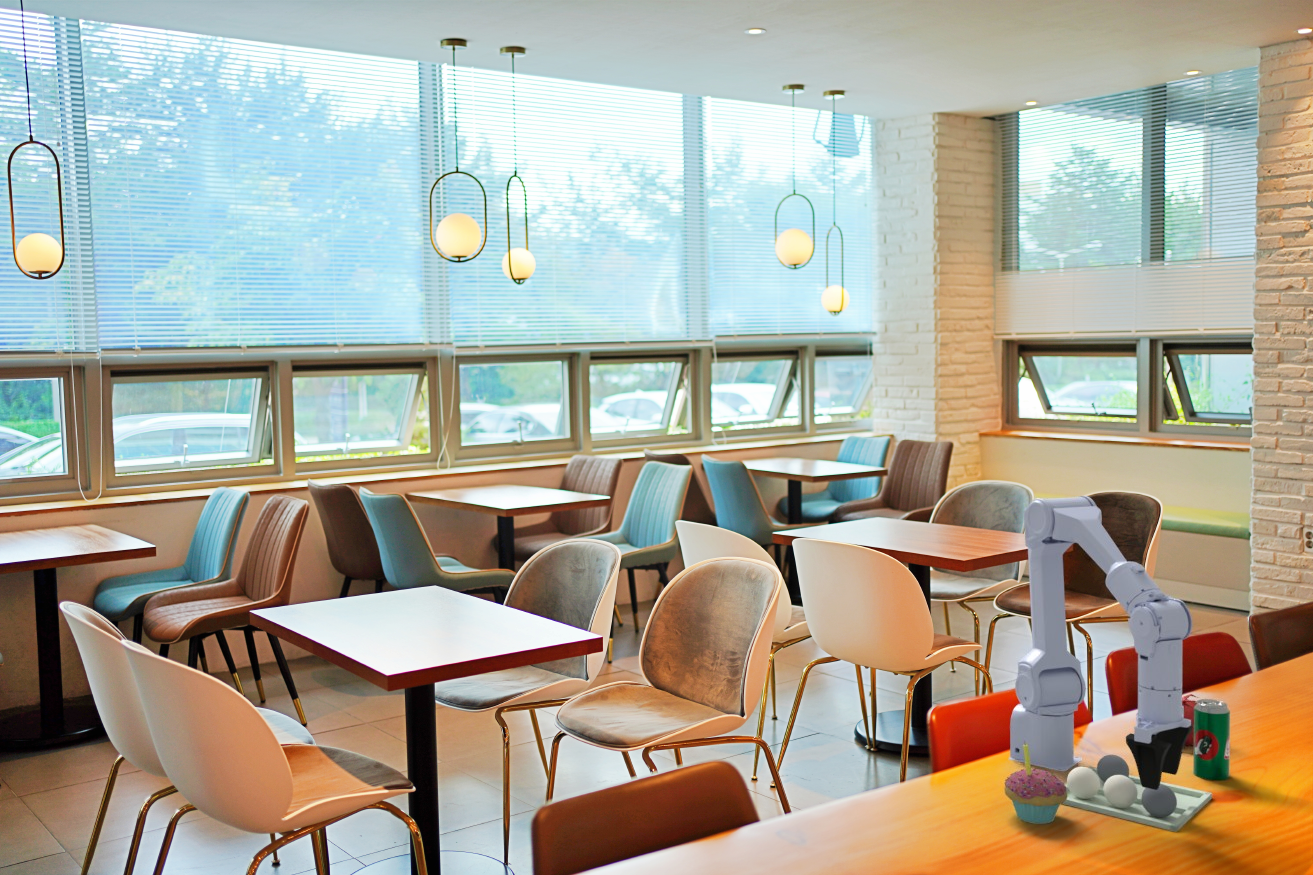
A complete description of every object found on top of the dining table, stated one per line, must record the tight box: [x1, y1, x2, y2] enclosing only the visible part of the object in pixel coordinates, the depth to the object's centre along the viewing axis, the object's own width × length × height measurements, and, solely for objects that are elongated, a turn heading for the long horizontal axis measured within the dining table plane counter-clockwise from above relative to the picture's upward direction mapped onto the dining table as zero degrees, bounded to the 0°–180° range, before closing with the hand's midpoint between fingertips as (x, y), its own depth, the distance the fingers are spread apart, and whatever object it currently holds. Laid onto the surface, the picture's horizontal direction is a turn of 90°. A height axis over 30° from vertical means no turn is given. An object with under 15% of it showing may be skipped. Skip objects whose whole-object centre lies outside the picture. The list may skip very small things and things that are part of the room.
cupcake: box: [1004, 740, 1067, 825], centre depth 161 cm, size 9×8×12 cm
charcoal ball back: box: [1096, 754, 1130, 783], centre depth 172 cm, size 5×5×5 cm
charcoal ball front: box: [1141, 784, 1177, 817], centre depth 160 cm, size 5×5×5 cm
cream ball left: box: [1066, 766, 1100, 799], centre depth 167 cm, size 5×5×5 cm
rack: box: [1061, 766, 1213, 833], centre depth 167 cm, size 18×16×1 cm
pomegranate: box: [1182, 693, 1200, 747], centre depth 194 cm, size 10×10×9 cm
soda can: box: [1192, 698, 1231, 782], centre depth 176 cm, size 5×5×12 cm
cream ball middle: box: [1103, 775, 1138, 808], centre depth 164 cm, size 5×5×5 cm
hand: (1159, 779), depth 160 cm, fingers open, 7 cm apart
